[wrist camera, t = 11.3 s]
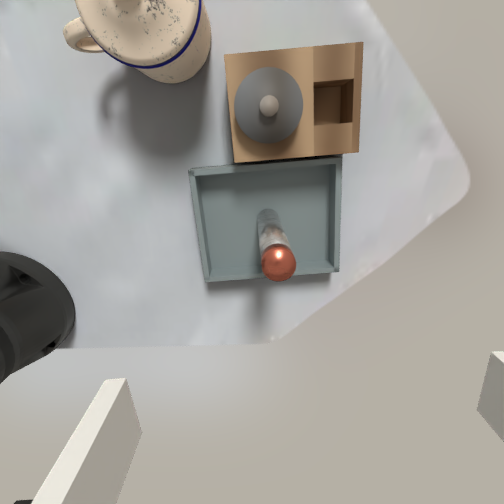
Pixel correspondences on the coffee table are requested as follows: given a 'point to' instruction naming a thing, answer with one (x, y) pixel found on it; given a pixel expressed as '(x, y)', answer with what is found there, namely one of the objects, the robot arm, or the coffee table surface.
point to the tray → (267, 197)
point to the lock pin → (274, 247)
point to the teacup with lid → (145, 35)
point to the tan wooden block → (295, 101)
